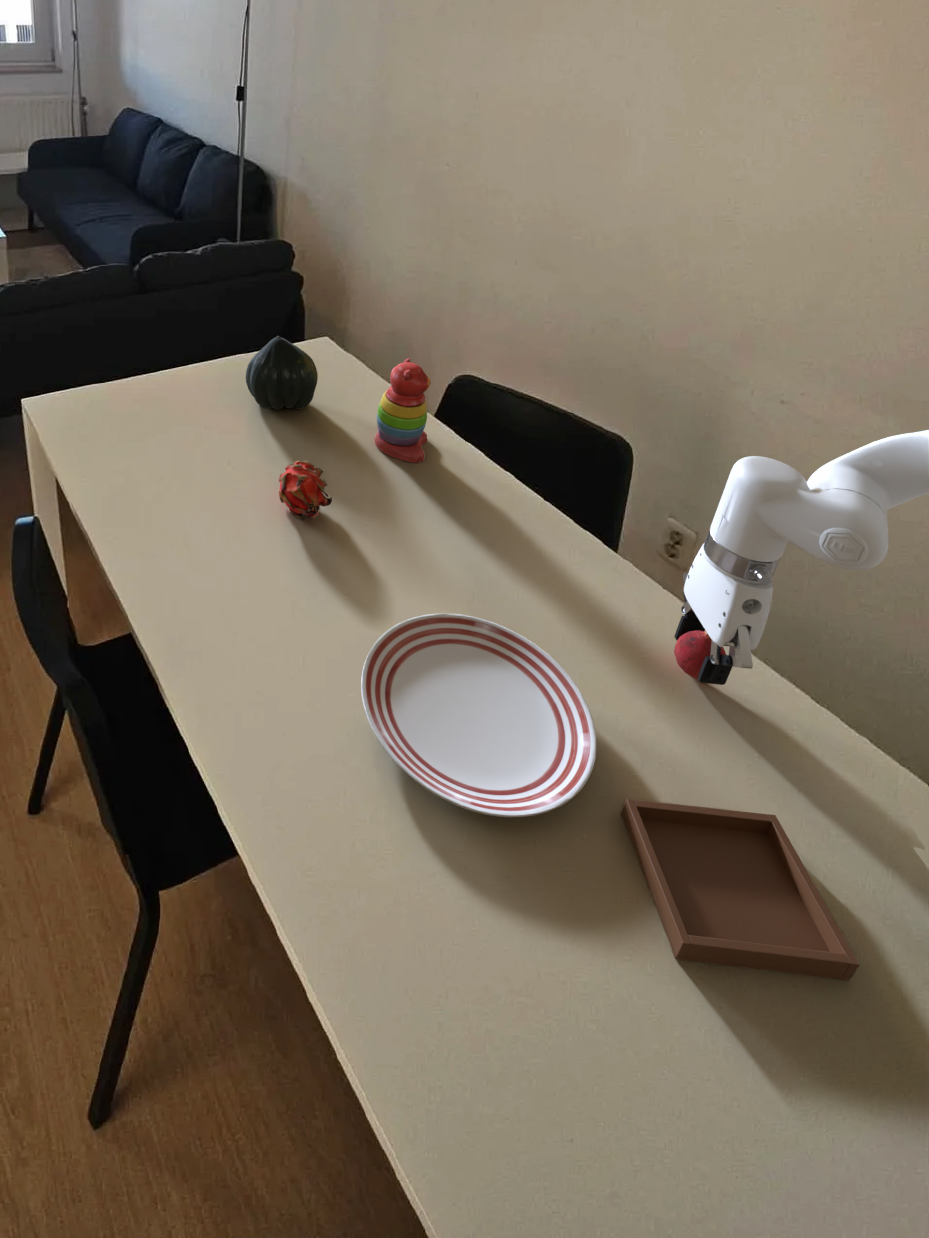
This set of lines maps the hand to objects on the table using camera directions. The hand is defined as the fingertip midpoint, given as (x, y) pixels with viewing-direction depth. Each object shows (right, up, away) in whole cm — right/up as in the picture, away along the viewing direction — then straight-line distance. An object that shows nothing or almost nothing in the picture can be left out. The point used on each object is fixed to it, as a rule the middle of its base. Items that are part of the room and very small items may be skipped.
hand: (698, 659), depth 100 cm
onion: (0, -3, +1) cm, 3 cm away
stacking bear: (-29, +19, +49) cm, 60 cm away
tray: (-11, -13, -23) cm, 29 cm away
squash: (-51, +26, +63) cm, 85 cm away
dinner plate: (-32, -5, -6) cm, 33 cm away
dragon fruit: (-49, +12, +30) cm, 59 cm away
